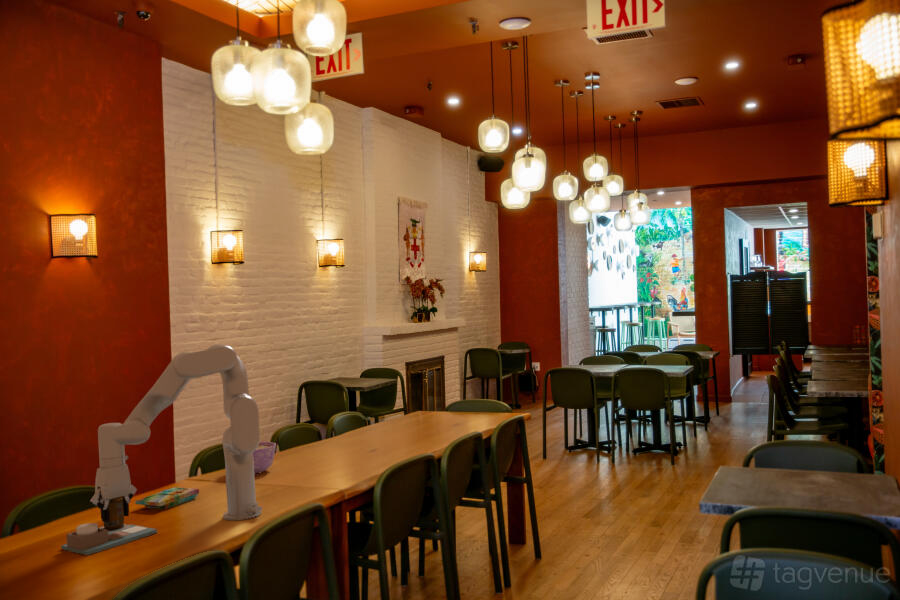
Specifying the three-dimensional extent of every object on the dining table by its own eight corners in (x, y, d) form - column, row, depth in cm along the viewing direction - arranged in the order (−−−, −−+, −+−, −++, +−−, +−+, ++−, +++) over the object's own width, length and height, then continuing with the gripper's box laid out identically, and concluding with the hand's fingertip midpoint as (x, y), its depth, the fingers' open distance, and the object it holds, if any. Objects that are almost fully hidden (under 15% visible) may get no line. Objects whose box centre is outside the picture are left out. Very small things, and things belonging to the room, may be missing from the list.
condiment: (120, 522, 249) (118, 486, 249) (132, 527, 243) (129, 489, 243) (97, 528, 244) (95, 491, 244) (108, 533, 238) (106, 494, 238)
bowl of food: (221, 477, 327) (220, 450, 327) (244, 467, 346) (243, 441, 346) (264, 478, 322) (262, 450, 322) (285, 467, 341) (284, 441, 341)
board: (157, 533, 248) (156, 517, 248) (87, 555, 228) (86, 539, 228) (131, 527, 256) (130, 513, 256) (61, 549, 236) (60, 533, 236)
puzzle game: (198, 486, 292) (158, 500, 274) (199, 499, 292) (159, 513, 274) (175, 485, 297) (135, 498, 279) (176, 497, 297) (135, 511, 279)
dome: (102, 534, 237) (101, 524, 237) (83, 540, 232) (83, 529, 232) (91, 532, 240) (90, 522, 240) (72, 537, 235) (72, 527, 235)
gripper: (129, 456, 253) (132, 510, 253) (80, 467, 239) (83, 524, 238) (143, 457, 249) (146, 512, 249) (93, 468, 234) (97, 527, 234)
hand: (115, 518), depth 244 cm, fingers closed on condiment, 6 cm apart
